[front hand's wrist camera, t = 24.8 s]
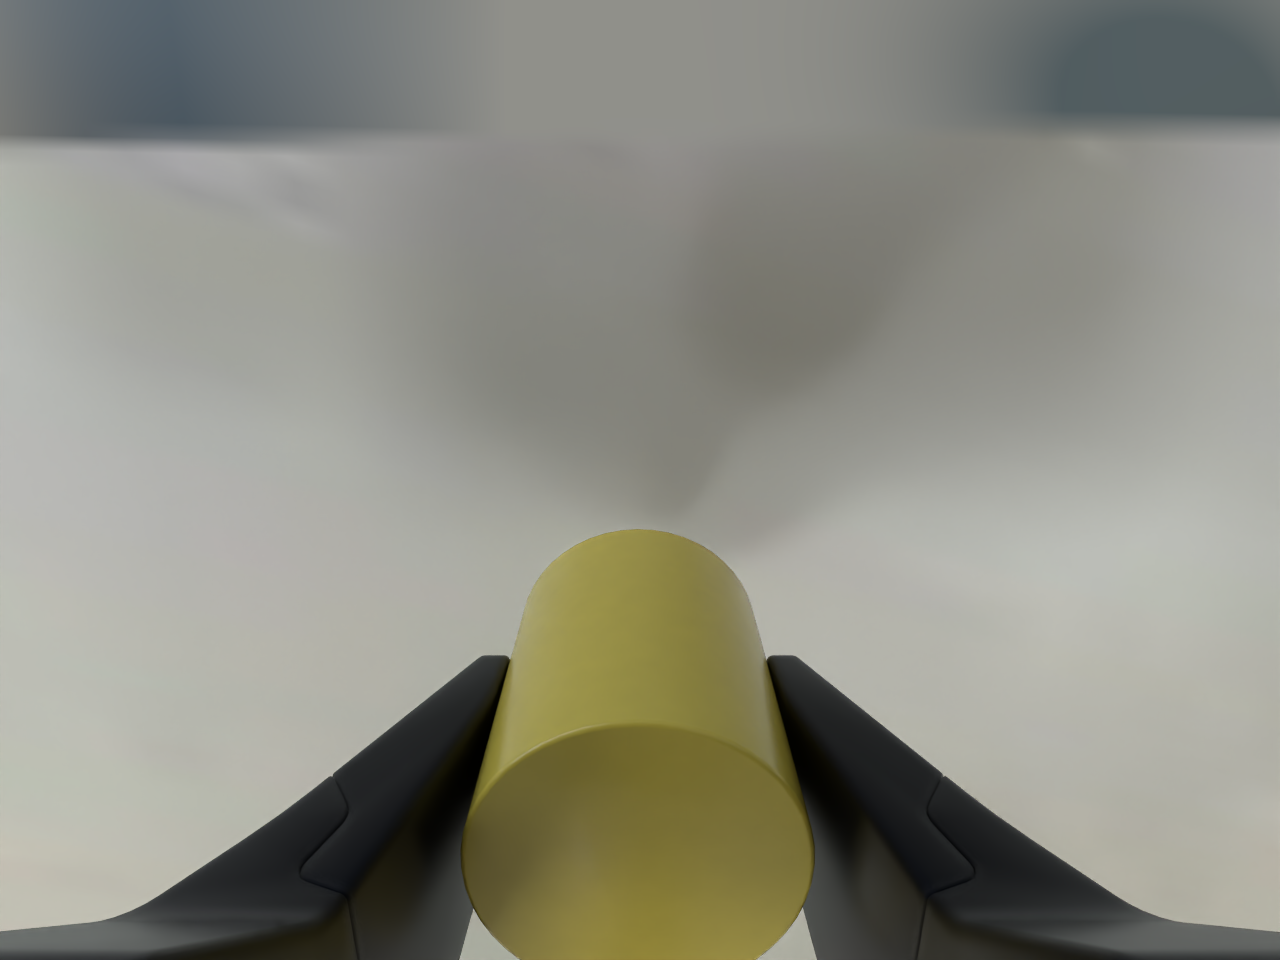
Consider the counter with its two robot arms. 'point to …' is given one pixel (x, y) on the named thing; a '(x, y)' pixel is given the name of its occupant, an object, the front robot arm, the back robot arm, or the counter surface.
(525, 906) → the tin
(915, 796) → the front robot arm
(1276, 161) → the counter surface
